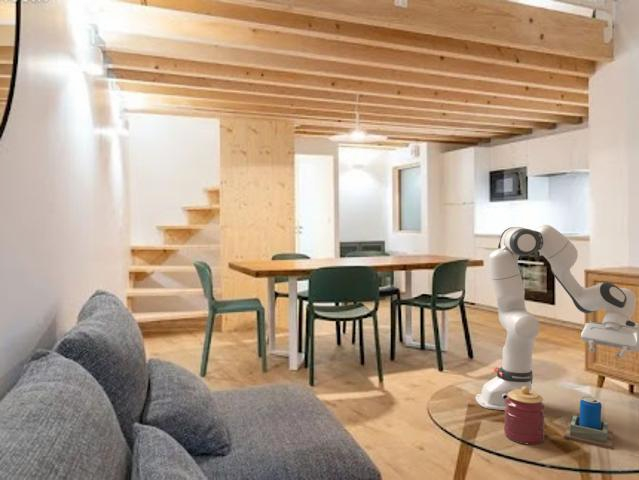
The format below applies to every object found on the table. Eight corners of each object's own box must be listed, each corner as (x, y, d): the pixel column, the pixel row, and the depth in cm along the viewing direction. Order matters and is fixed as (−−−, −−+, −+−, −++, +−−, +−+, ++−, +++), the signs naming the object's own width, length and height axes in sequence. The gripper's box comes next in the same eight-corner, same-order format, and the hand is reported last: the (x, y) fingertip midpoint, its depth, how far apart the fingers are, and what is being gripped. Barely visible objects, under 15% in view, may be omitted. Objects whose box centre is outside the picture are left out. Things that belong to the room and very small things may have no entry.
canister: (507, 425, 179) (508, 377, 178) (546, 434, 172) (548, 384, 172) (500, 439, 168) (501, 388, 167) (541, 448, 161) (543, 395, 160)
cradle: (611, 449, 162) (612, 435, 161) (564, 438, 169) (564, 425, 169) (613, 433, 173) (613, 421, 173) (568, 424, 181) (569, 412, 181)
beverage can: (599, 439, 167) (601, 404, 166) (578, 434, 170) (579, 400, 169) (600, 432, 172) (602, 398, 171) (580, 427, 175) (581, 394, 175)
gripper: (584, 315, 198) (574, 343, 192) (643, 324, 183) (633, 355, 177) (588, 325, 201) (578, 353, 195) (646, 334, 186) (637, 365, 180)
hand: (605, 354), depth 186 cm, fingers open, 8 cm apart
